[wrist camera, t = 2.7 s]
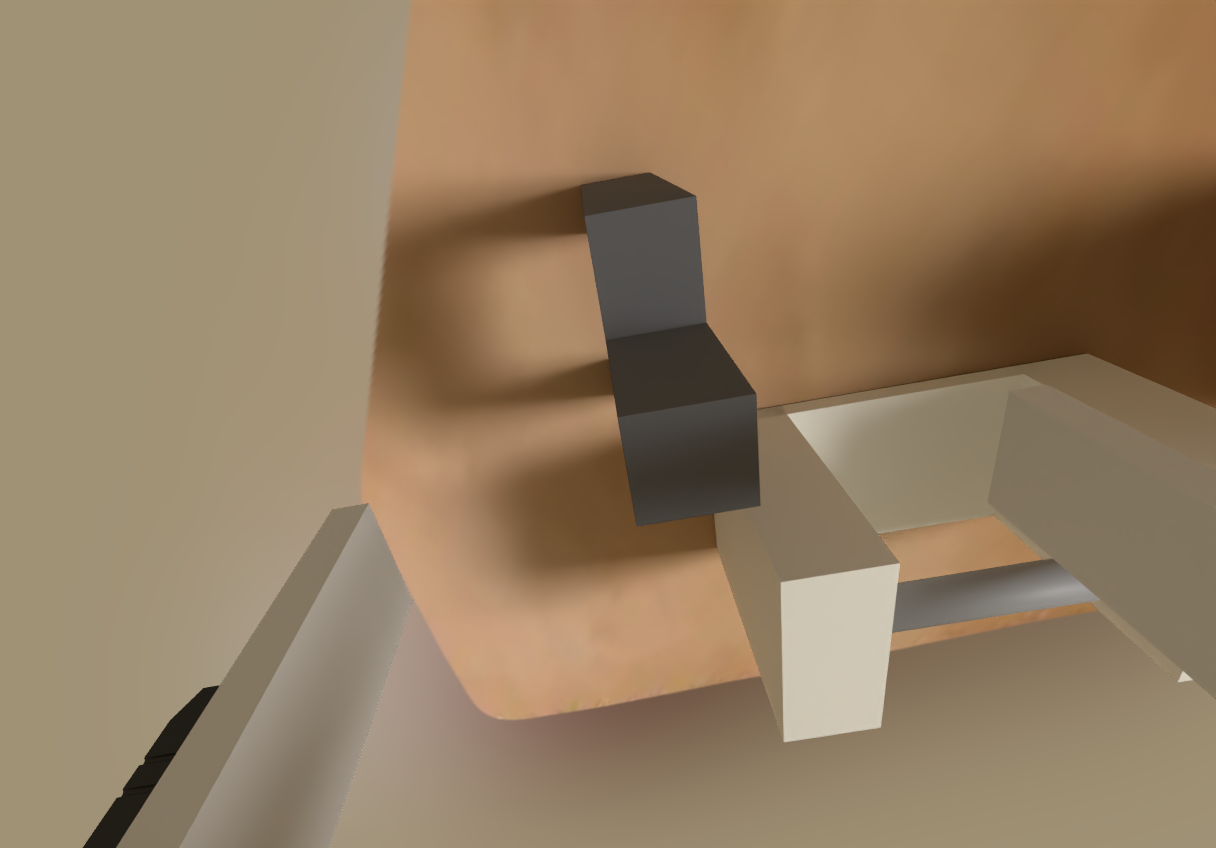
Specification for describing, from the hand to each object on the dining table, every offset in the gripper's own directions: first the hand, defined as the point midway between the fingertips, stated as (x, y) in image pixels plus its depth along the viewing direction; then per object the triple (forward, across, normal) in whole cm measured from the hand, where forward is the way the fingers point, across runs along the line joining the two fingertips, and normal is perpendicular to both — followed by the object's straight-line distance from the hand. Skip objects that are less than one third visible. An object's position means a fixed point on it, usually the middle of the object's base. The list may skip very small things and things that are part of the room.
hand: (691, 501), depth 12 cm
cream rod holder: (+16, +13, -12) cm, 24 cm away
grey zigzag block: (+16, 0, 0) cm, 16 cm away
